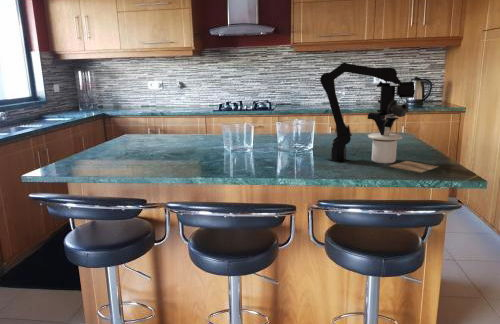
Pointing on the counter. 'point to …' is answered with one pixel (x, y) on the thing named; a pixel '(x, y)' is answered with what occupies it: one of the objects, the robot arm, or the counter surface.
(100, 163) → the counter surface
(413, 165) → the trivet
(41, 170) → the counter surface
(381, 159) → the cup
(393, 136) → the lid
